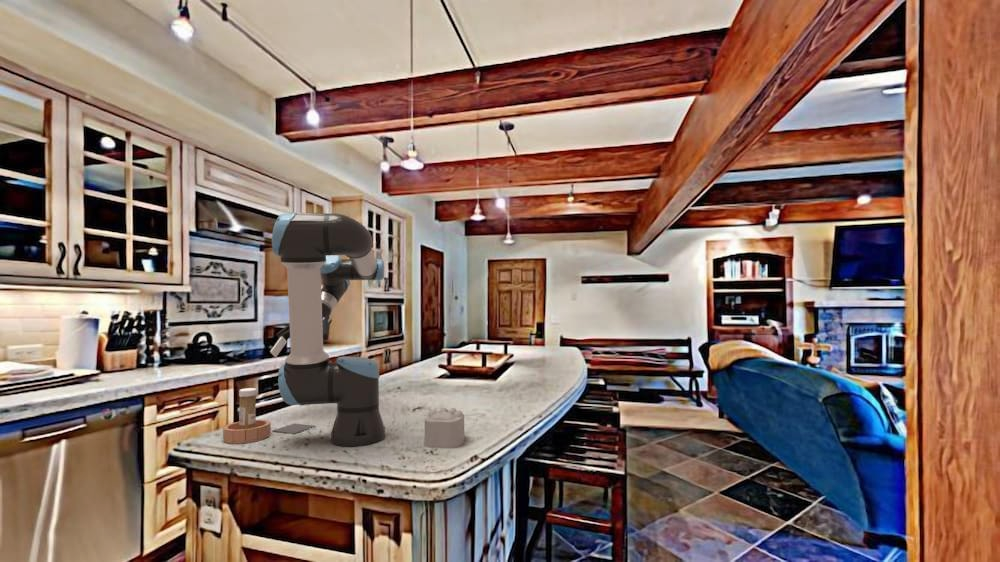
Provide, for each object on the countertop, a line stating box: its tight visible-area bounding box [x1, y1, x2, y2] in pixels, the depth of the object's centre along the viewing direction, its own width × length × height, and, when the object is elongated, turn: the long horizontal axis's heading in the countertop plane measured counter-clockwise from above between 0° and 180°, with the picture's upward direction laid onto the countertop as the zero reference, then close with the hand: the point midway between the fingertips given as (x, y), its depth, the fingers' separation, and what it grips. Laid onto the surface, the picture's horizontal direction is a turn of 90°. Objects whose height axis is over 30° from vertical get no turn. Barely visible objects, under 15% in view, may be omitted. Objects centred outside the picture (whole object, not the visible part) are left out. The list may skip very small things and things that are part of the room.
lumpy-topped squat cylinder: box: [424, 407, 465, 449], centre depth 134 cm, size 10×13×9 cm
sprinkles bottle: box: [238, 387, 257, 430], centre depth 139 cm, size 5×5×14 cm
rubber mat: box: [271, 423, 316, 435], centre depth 148 cm, size 9×9×1 cm
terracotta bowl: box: [222, 419, 272, 445], centre depth 139 cm, size 12×12×4 cm
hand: (289, 354), depth 153 cm, fingers open, 13 cm apart
